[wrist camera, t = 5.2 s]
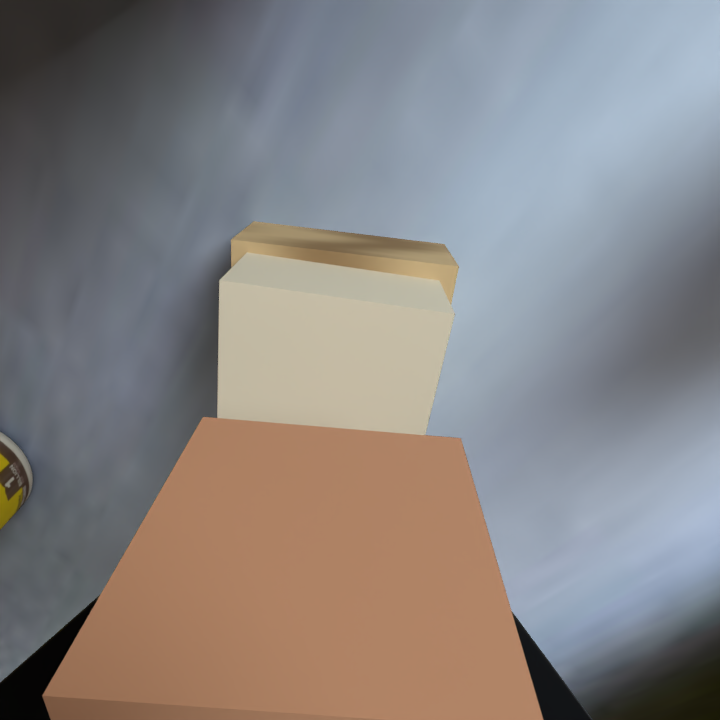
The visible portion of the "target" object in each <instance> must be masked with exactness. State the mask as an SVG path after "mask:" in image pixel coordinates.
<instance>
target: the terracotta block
mask: <svg viewBox="0 0 720 720" xmlns="http://www.w3.org/2000/svg"><path fill="white" fill-rule="evenodd" d="M42 696H43V699H44V702H45V705H46V708H47V711H48V713H49V716H50V719H51V720H543V717H542V713H541V710H540V707H539V703H538V700H537V696H536V693H535V690H534V686H533V683H532V679H531V676H530V673H529V669H528V666H527V662H526V659H525V655H524V652H523V649H522V645H521V642H520V638H519V635H518V632H517V628H516V625H515V621H514V618H513V615H512V611H511V608H510V604H509V601H508V598H507V594H506V591H505V587H504V584H503V580H502V577H501V574H500V570H499V567H498V563H497V560H496V557H495V553H494V550H493V546H492V543H491V540H490V536H489V533H488V529H487V526H486V523H485V519H484V516H483V512H482V509H481V505H480V502H479V499H478V495H477V492H476V488H475V485H474V482H473V478H472V475H471V471H470V468H469V465H468V461H467V458H466V454H465V451H464V448H463V444H462V441H461V438H452V437H440V436H428V435H416V434H404V433H392V432H380V431H368V430H356V429H343V428H331V427H319V426H307V425H295V424H283V423H271V422H259V421H247V420H235V419H223V418H211V417H203V418H202V419H201V421H200V423H199V425H198V426H197V428H196V430H195V432H194V433H193V435H192V437H191V439H190V440H189V442H188V444H187V446H186V447H185V449H184V451H183V452H182V454H181V456H180V458H179V459H178V461H177V463H176V465H175V466H174V468H173V470H172V472H171V473H170V475H169V477H168V478H167V480H166V482H165V484H164V485H163V487H162V489H161V491H160V492H159V494H158V496H157V498H156V499H155V501H154V503H153V504H152V506H151V508H150V510H149V511H148V513H147V515H146V517H145V518H144V520H143V522H142V524H141V525H140V527H139V529H138V530H137V532H136V534H135V536H134V537H133V539H132V541H131V543H130V544H129V546H128V548H127V550H126V551H125V553H124V555H123V557H122V558H121V560H120V562H119V563H118V565H117V567H116V569H115V570H114V572H113V574H112V576H111V577H110V579H109V581H108V583H107V584H106V586H105V588H104V589H103V591H102V593H101V595H100V596H99V598H98V600H97V602H96V603H95V605H94V607H93V609H92V610H91V612H90V614H89V615H88V617H87V619H86V621H85V622H84V624H83V626H82V628H81V629H80V631H79V633H78V635H77V636H76V638H75V640H74V642H73V643H72V645H71V647H70V648H69V650H68V652H67V654H66V655H65V657H64V659H63V661H62V662H61V664H60V666H59V668H58V669H57V671H56V673H55V674H54V676H53V678H52V680H51V681H50V683H49V685H48V687H47V688H46V690H45V692H44V694H43V695H42Z"/></svg>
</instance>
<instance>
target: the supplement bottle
mask: <svg viewBox="0 0 720 720" xmlns="http://www.w3.org/2000/svg"><path fill="white" fill-rule="evenodd" d="M32 483H33V476H32V470H31V467H30V464H29V462H28V460H27V458H26V456H25V455H24V453H23V452H22V450H21V449H20V448H19V447H18V446H17V445H16V444H15V443H14V442H13V441H12V440H11V439H10V438H9V437H7V436H6V435H4V434H3V433H1V432H0V529H1V528H2V527H3V526H4V525H5V524H6V523H7V522H8V521H9V520H10V519H11V518H12V516H13V515H14V514H15V513H16V512H17V511H18V510H19V509H20V507H21V506H22V505H23V504H24V503H25V501H26V500H27V498H28V497H29V494H30V492H31V489H32Z"/></svg>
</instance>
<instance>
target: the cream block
mask: <svg viewBox="0 0 720 720" xmlns="http://www.w3.org/2000/svg"><path fill="white" fill-rule="evenodd" d="M454 316H455V313H454V311H453V309H452V307H451V304H450V302H449V300H448V298H447V296H446V294H445V292H444V289H443V287H442V285H441V283H440V281H439V280H433V279H426V278H419V277H412V276H406V275H399V274H392V273H385V272H378V271H371V270H365V269H358V268H351V267H344V266H337V265H330V264H324V263H317V262H310V261H303V260H296V259H289V258H283V257H276V256H269V255H262V254H255V253H248V252H247V253H246V254H245V255H244V256H243V257H242V258H241V259H240V260H239V261H238V262H237V263H236V264H235V265H234V266H233V267H232V268H231V269H230V270H229V271H228V272H227V273H226V274H225V275H224V276H223V277H222V278H221V279H220V280H219V340H218V407H217V418H223V419H235V420H247V421H259V422H271V423H283V424H295V425H307V426H319V427H331V428H343V429H356V430H368V431H380V432H392V433H404V434H416V435H425V433H426V429H427V425H428V421H429V417H430V413H431V409H432V405H433V401H434V397H435V393H436V389H437V385H438V381H439V377H440V372H441V368H442V364H443V360H444V356H445V352H446V348H447V344H448V340H449V336H450V332H451V328H452V324H453V320H454Z"/></svg>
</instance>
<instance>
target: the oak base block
mask: <svg viewBox="0 0 720 720" xmlns="http://www.w3.org/2000/svg"><path fill="white" fill-rule="evenodd" d="M247 252H248V253H255V254H262V255H269V256H276V257H283V258H289V259H296V260H303V261H310V262H317V263H324V264H330V265H337V266H344V267H351V268H358V269H365V270H371V271H378V272H385V273H392V274H399V275H406V276H412V277H419V278H426V279H433V280H439V281H440V283H441V285H442V287H443V289H444V292H445V294H446V296H447V298H448V300H449V302H450V304H451V302H452V297H453V292H454V287H455V283H456V278H457V273H458V268H459V266H458V264H457V263H456V261H455V260H454V258H453V257H452V255H451V254H450V252H449V251H448V249H447V248H446V246H445V245H444V244H438V243H430V242H422V241H413V240H405V239H397V238H388V237H380V236H371V235H363V234H355V233H346V232H338V231H330V230H321V229H313V228H305V227H296V226H288V225H280V224H271V223H263V222H255V221H254V222H253V223H251V224H250V225H249V226H248V227H246V228H245V229H244V230H243V231H241V232H240V233H239V234H238V235H236V236H235V237H234V238H233V239H231V268H232V267H233V266H234V265H235V264H236V263H237V262H238V261H239V260H240V259H241V258H242V257H243V256H244V255H245V254H246V253H247Z"/></svg>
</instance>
